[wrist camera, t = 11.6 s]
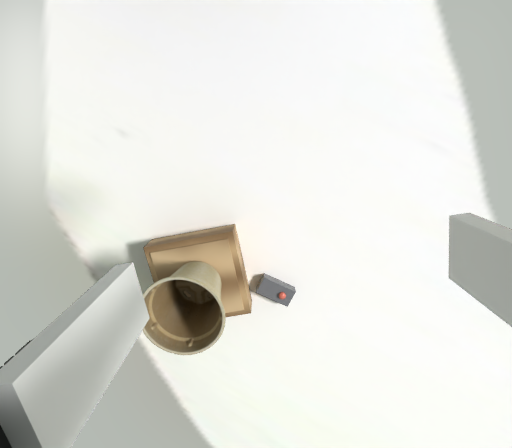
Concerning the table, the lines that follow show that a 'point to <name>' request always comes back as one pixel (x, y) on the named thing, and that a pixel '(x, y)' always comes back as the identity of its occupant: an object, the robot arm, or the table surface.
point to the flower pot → (185, 310)
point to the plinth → (211, 252)
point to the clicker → (275, 290)
